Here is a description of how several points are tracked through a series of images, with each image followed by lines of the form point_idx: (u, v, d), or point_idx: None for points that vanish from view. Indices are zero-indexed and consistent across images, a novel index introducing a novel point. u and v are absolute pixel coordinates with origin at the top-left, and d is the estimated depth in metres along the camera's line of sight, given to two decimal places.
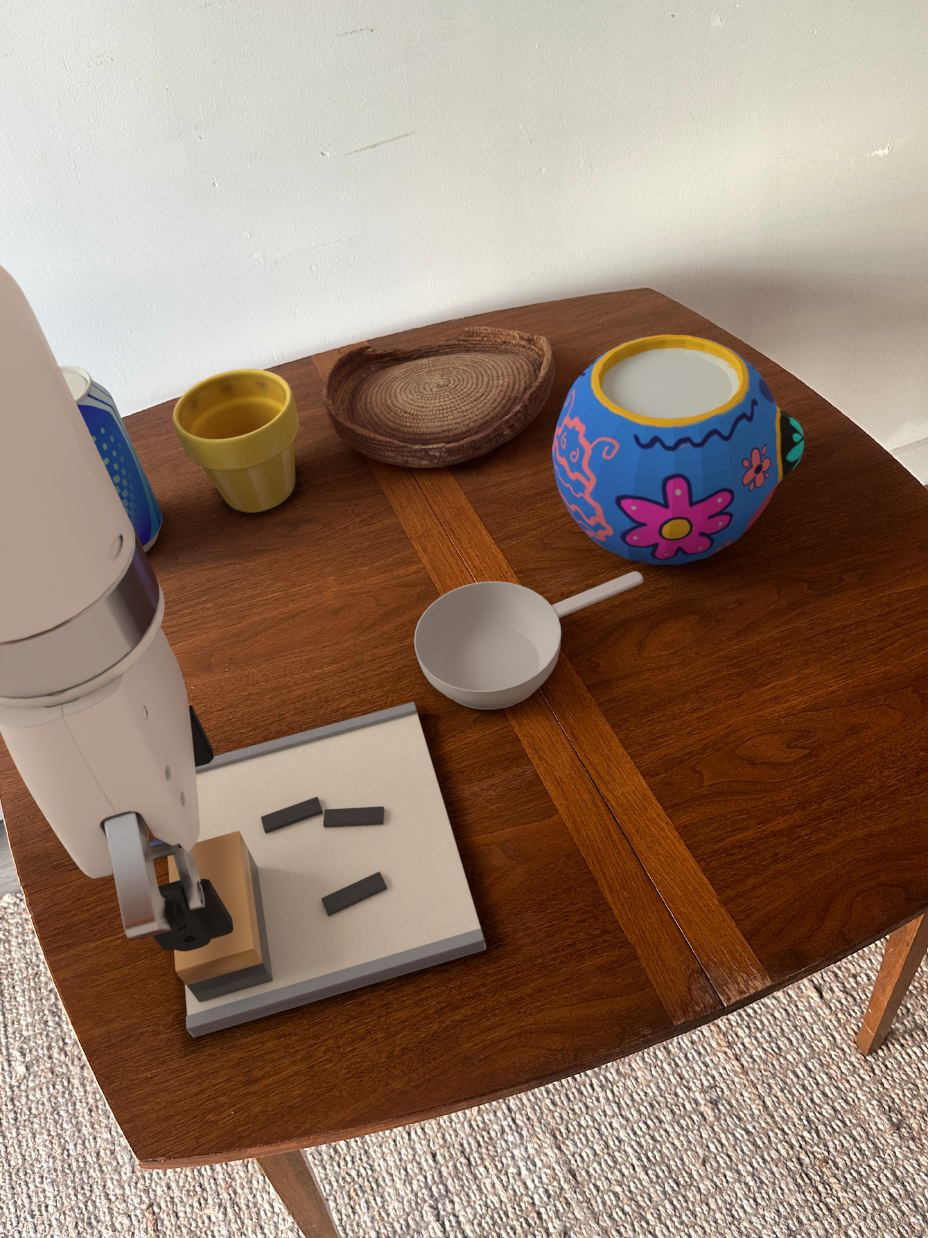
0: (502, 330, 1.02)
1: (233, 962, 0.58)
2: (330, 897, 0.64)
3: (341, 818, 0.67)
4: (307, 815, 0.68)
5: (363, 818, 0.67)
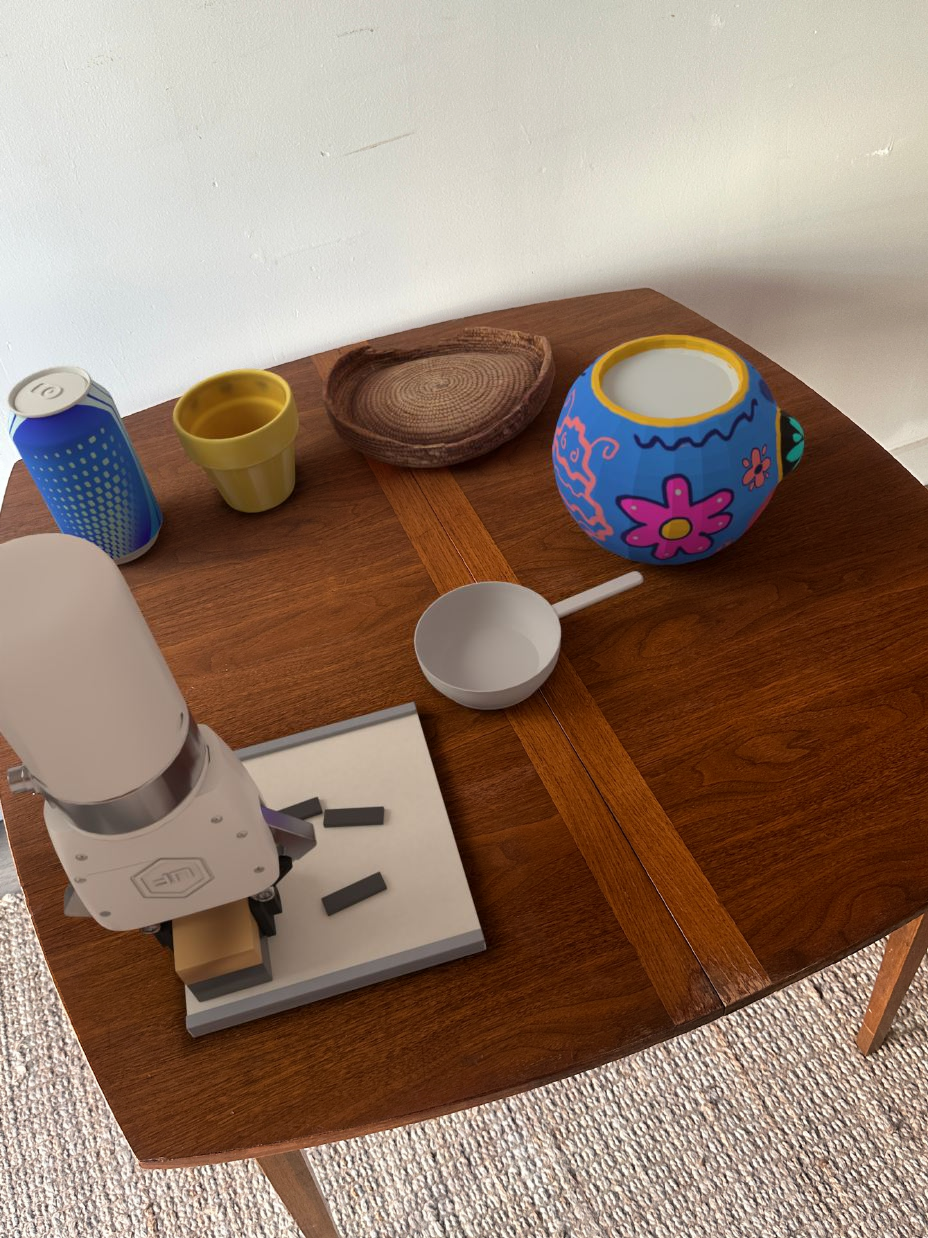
0: (502, 330, 1.02)
1: (233, 962, 0.58)
2: (330, 897, 0.64)
3: (341, 818, 0.67)
4: (307, 815, 0.68)
5: (363, 818, 0.67)
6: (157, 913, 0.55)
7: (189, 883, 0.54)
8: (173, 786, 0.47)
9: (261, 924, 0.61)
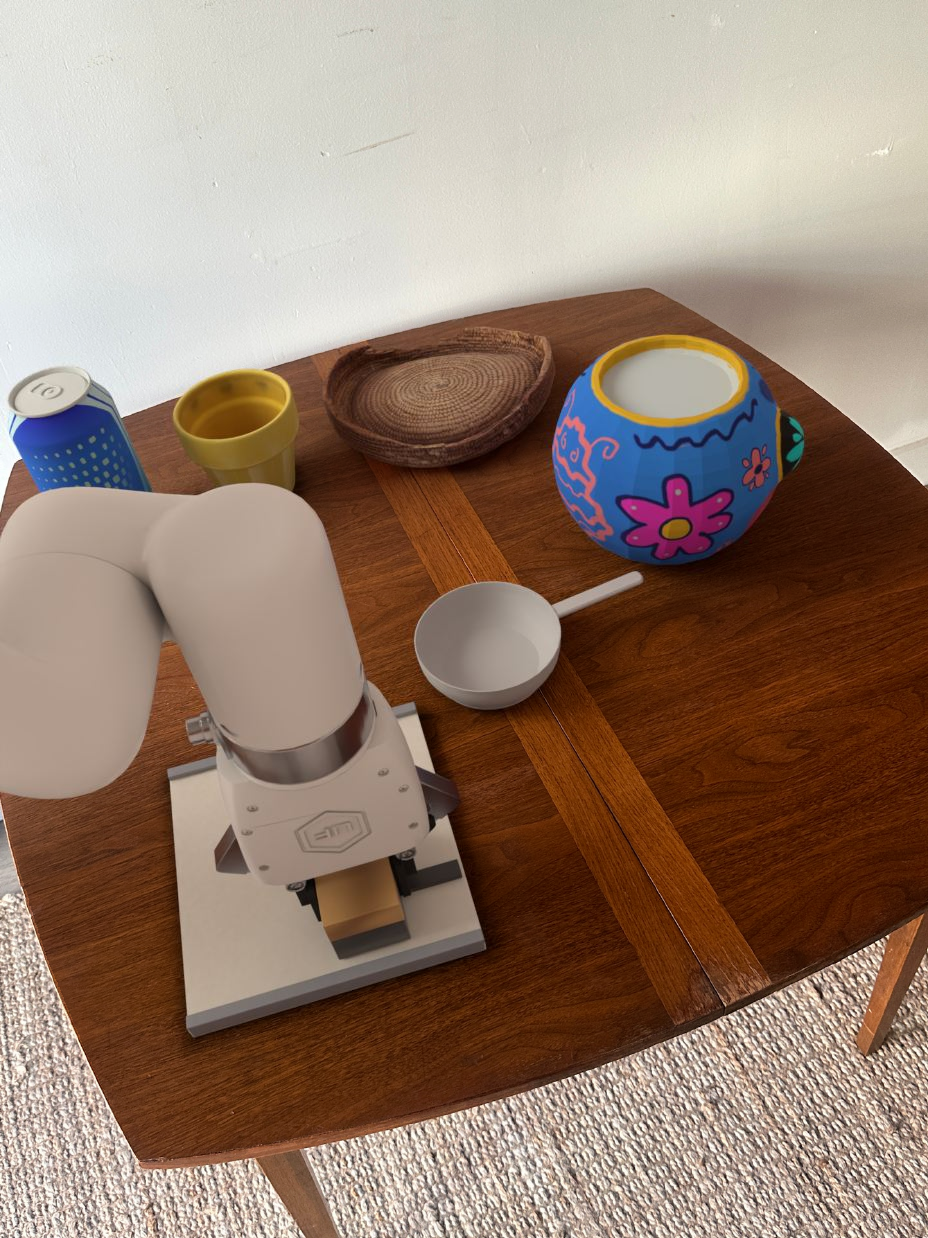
0: (502, 330, 1.02)
1: (378, 919, 0.59)
2: None
3: None
4: None
5: None
6: (312, 868, 0.55)
7: (347, 838, 0.54)
8: (351, 736, 0.48)
9: (400, 883, 0.61)
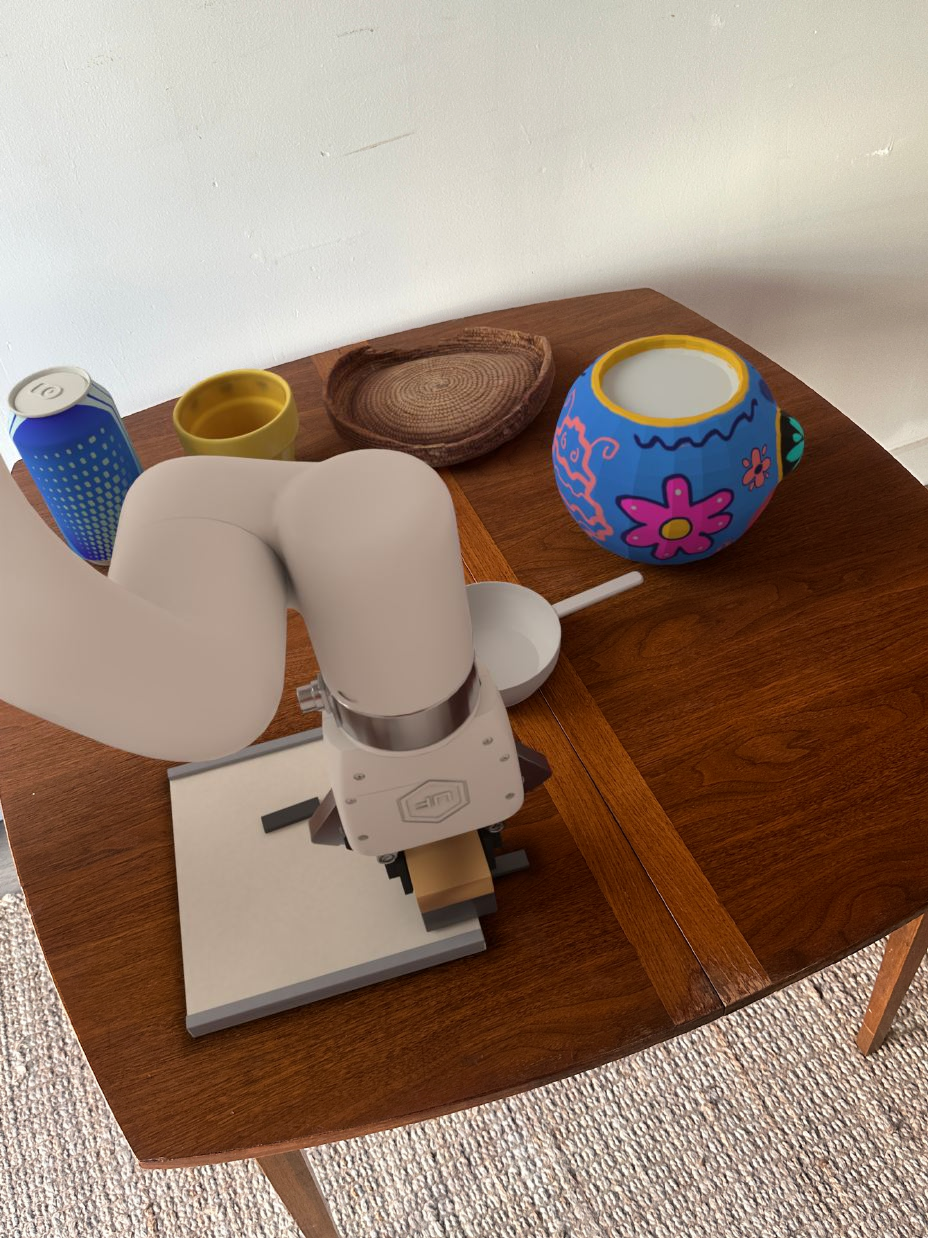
0: (502, 330, 1.02)
1: (469, 890, 0.59)
2: None
3: None
4: (307, 815, 0.68)
5: None
6: (409, 838, 0.56)
7: (446, 807, 0.55)
8: (463, 703, 0.49)
9: (487, 856, 0.62)
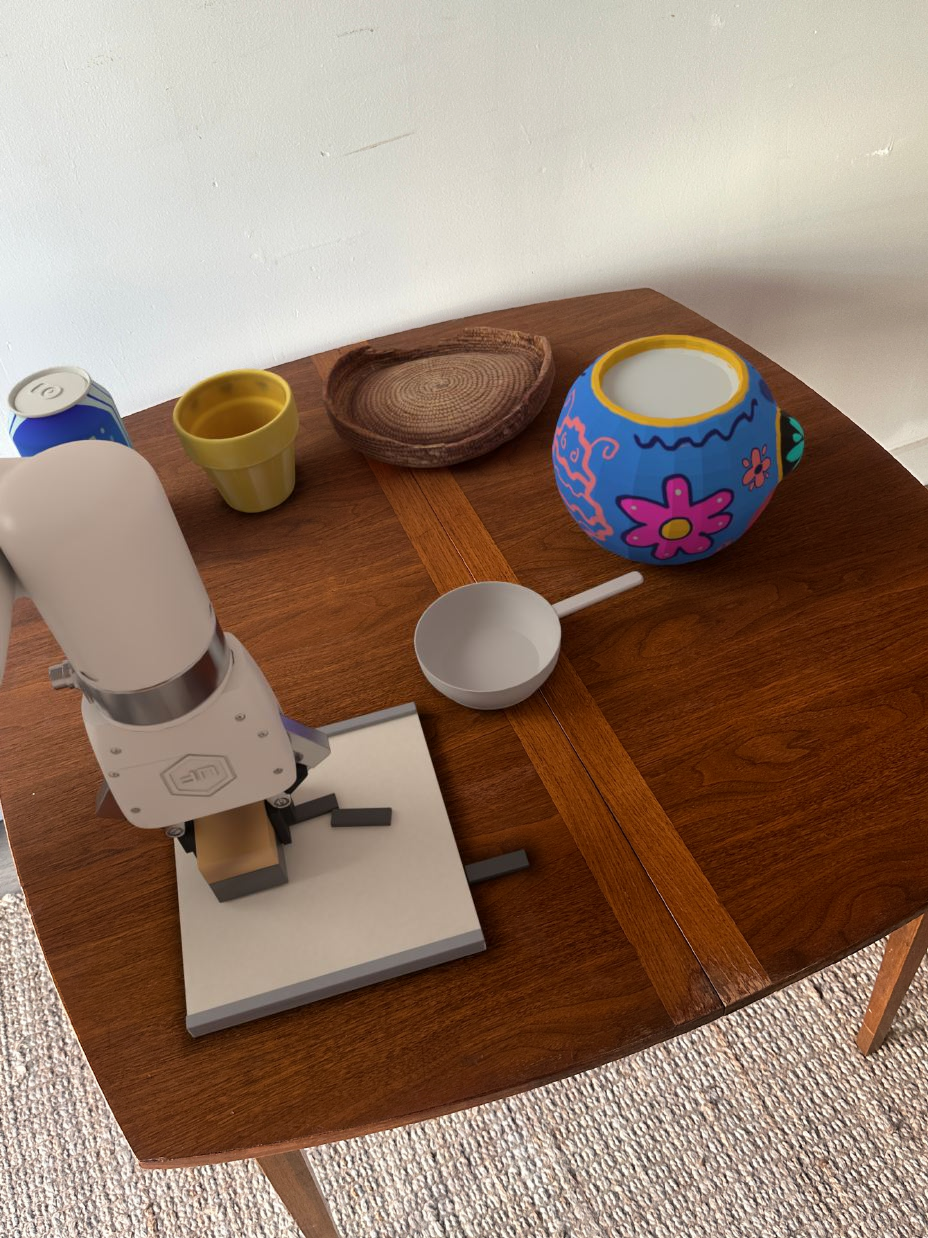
0: (502, 330, 1.02)
1: (252, 862, 0.62)
2: (473, 866, 0.65)
3: (348, 818, 0.67)
4: (324, 811, 0.68)
5: (370, 819, 0.67)
6: (183, 811, 0.59)
7: (213, 782, 0.58)
8: (202, 680, 0.52)
9: (278, 831, 0.65)
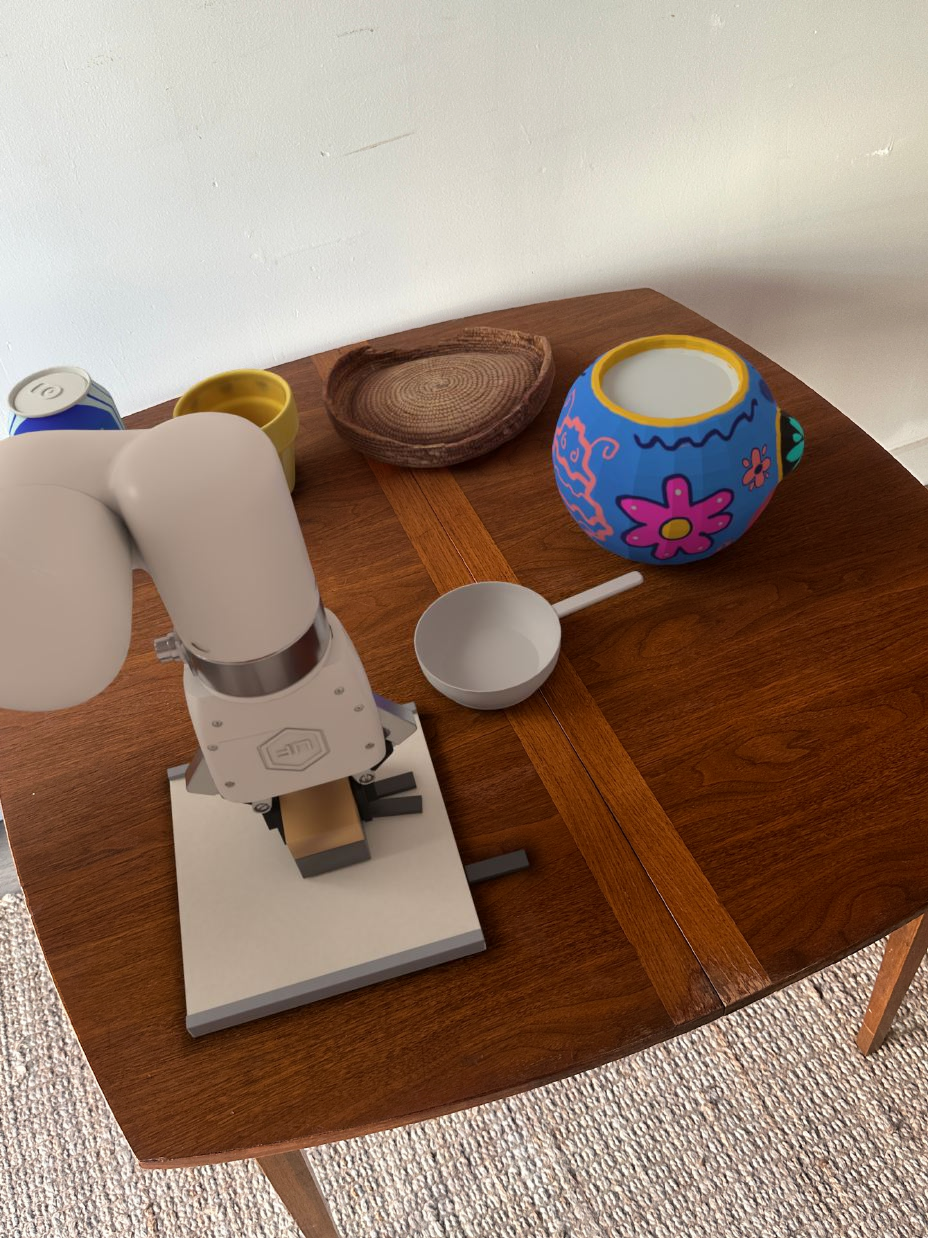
0: (502, 330, 1.02)
1: (338, 837, 0.63)
2: (473, 866, 0.65)
3: (380, 808, 0.68)
4: (401, 789, 0.69)
5: (402, 807, 0.68)
6: (275, 786, 0.59)
7: (307, 756, 0.58)
8: (307, 653, 0.52)
9: (361, 808, 0.65)
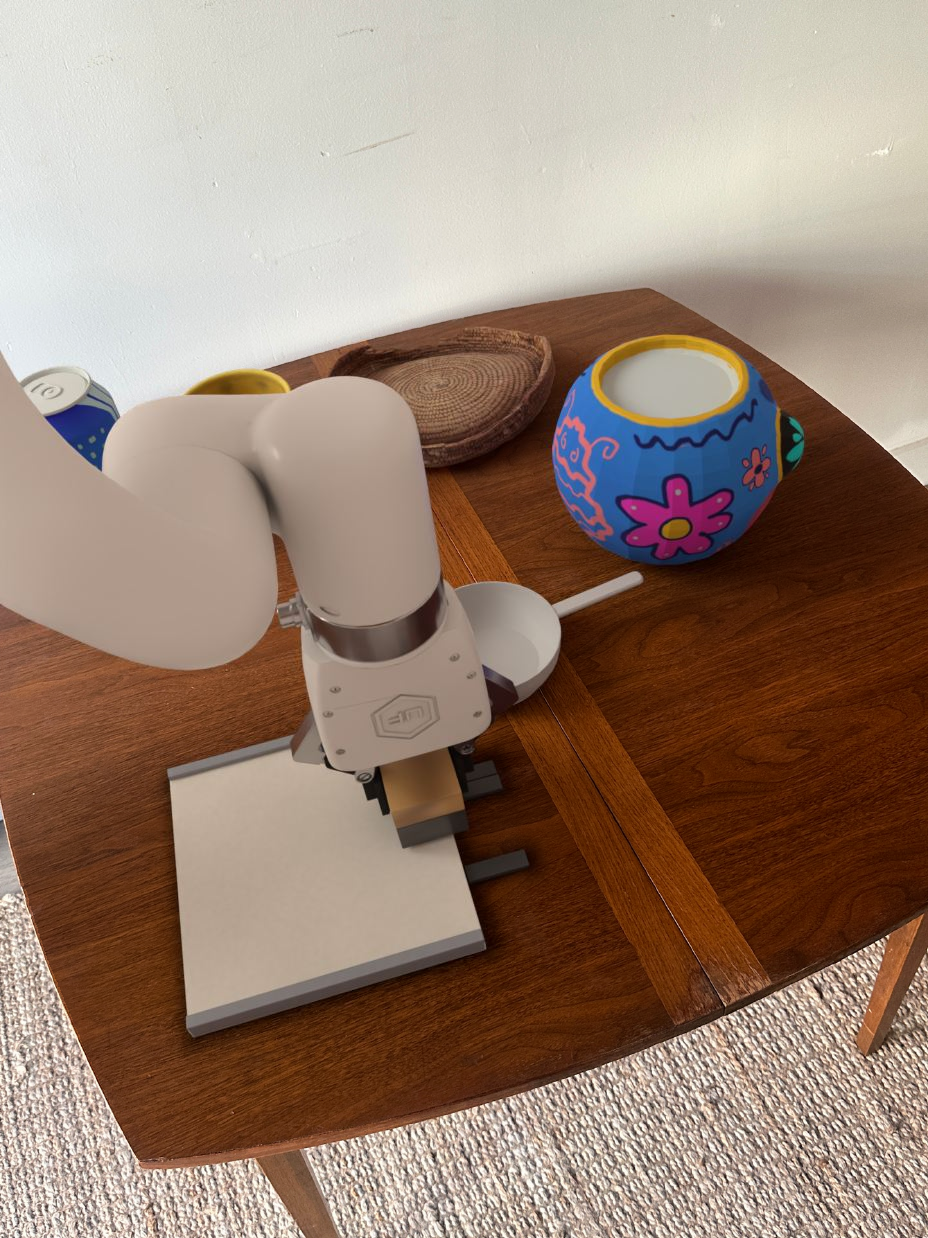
0: (502, 330, 1.02)
1: (441, 806, 0.63)
2: (473, 866, 0.65)
3: None
4: (482, 777, 0.70)
5: (483, 789, 0.69)
6: (384, 754, 0.60)
7: (417, 723, 0.59)
8: (430, 618, 0.53)
9: (459, 778, 0.66)
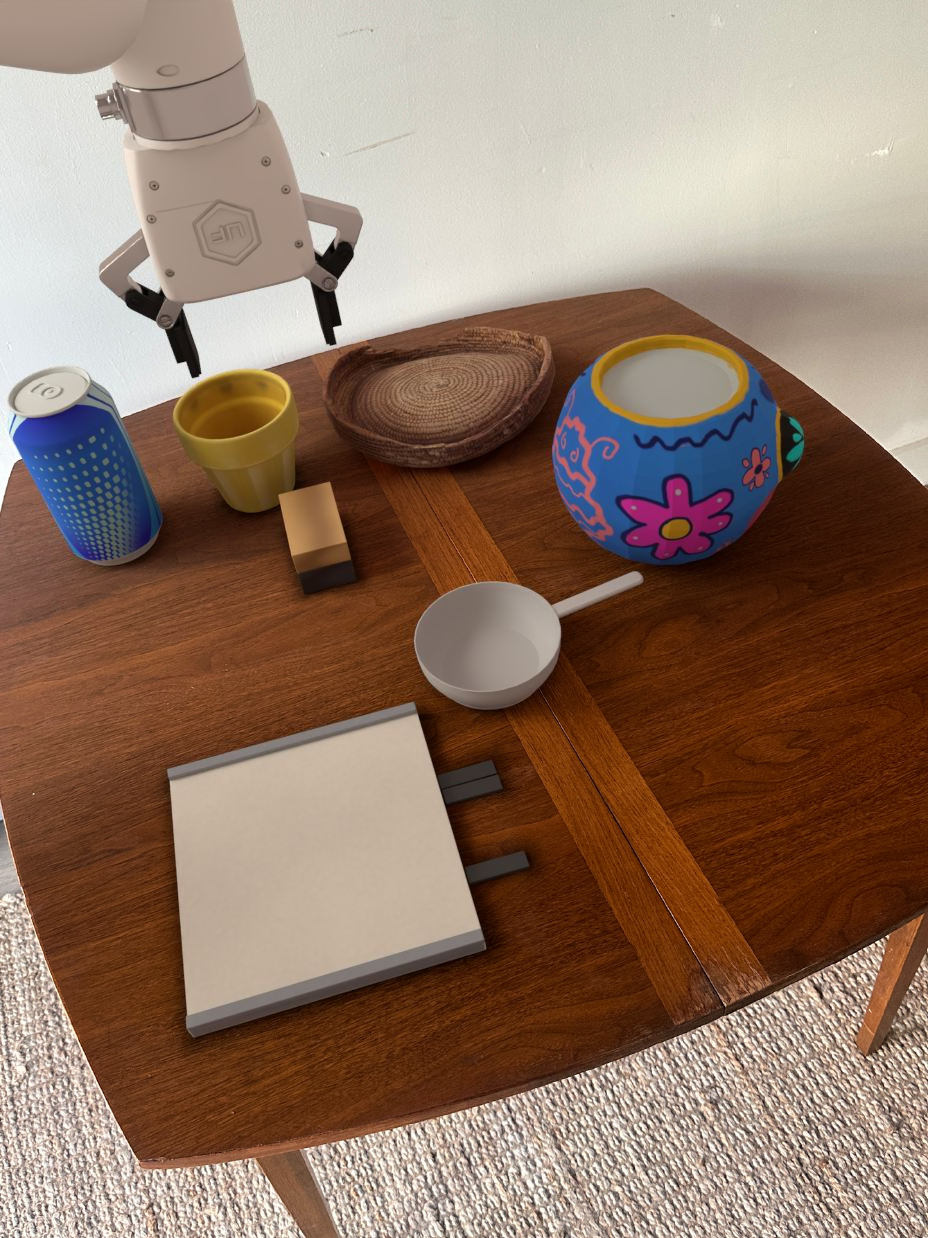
0: (502, 330, 1.02)
1: (331, 554, 0.82)
2: (473, 867, 0.65)
3: (461, 794, 0.69)
4: (482, 777, 0.70)
5: (483, 789, 0.69)
6: (212, 282, 0.65)
7: (240, 246, 0.64)
8: (233, 98, 0.58)
9: (325, 322, 0.70)
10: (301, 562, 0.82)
